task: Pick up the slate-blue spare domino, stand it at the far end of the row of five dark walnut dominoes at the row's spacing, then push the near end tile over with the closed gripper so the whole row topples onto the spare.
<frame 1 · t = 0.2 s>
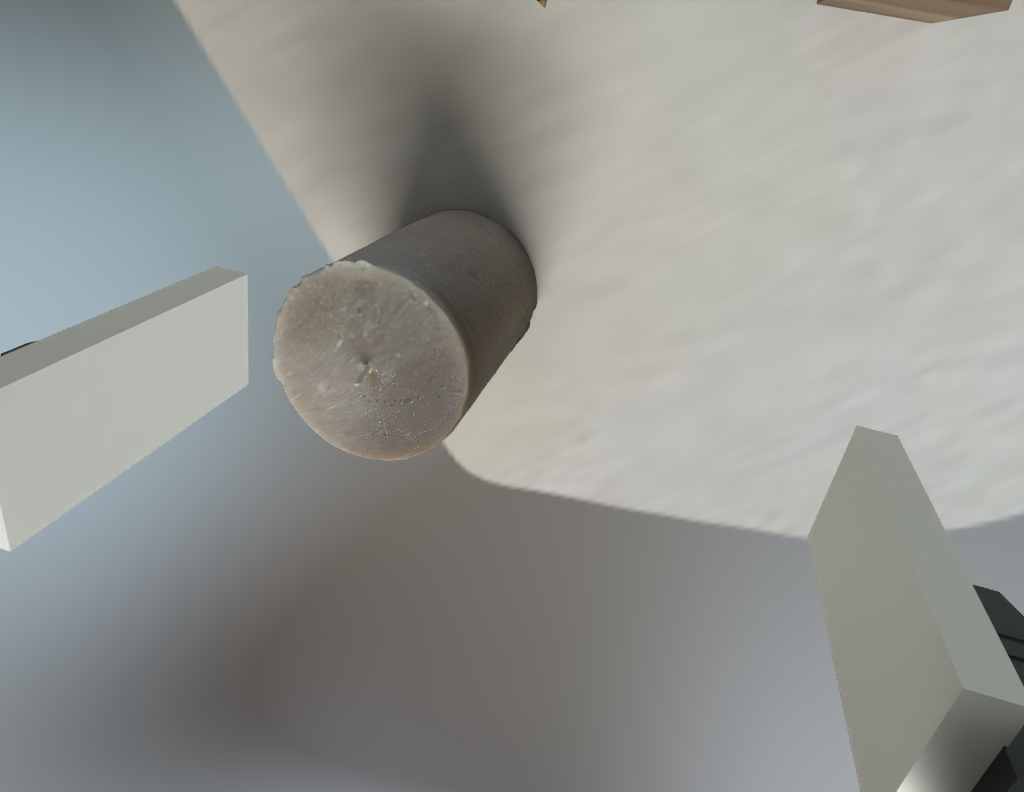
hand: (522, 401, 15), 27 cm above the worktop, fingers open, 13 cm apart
pillar candle: (461, 284, 44), on the worktop
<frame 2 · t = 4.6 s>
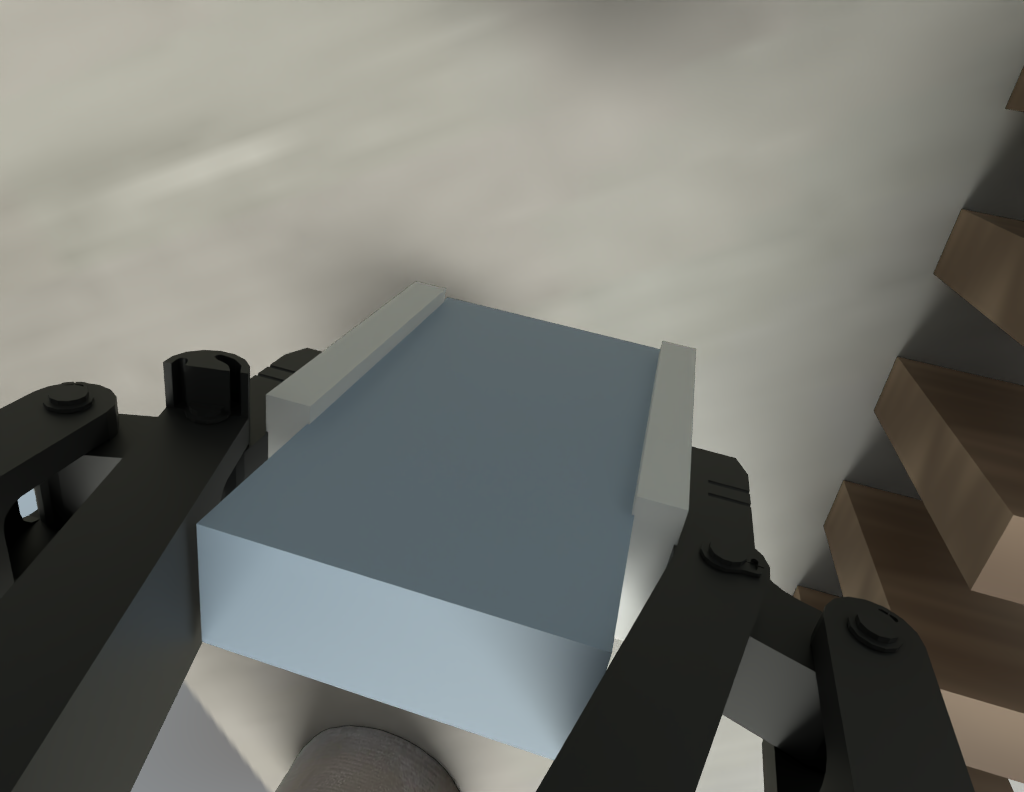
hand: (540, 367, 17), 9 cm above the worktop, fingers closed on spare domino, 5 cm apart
domino 5: (857, 624, 27), on the worktop
pillar candle: (379, 787, 38), on the worktop
spare domino: (544, 361, 17), point 8 cm above the worktop, touching gripper
domino 3: (967, 403, 23), on the worktop
domino 4: (908, 523, 25), on the worktop
when the fingers open (0 cm above the worktop, at t = 9.1 s): spare domino stays where it is, on the worktop.
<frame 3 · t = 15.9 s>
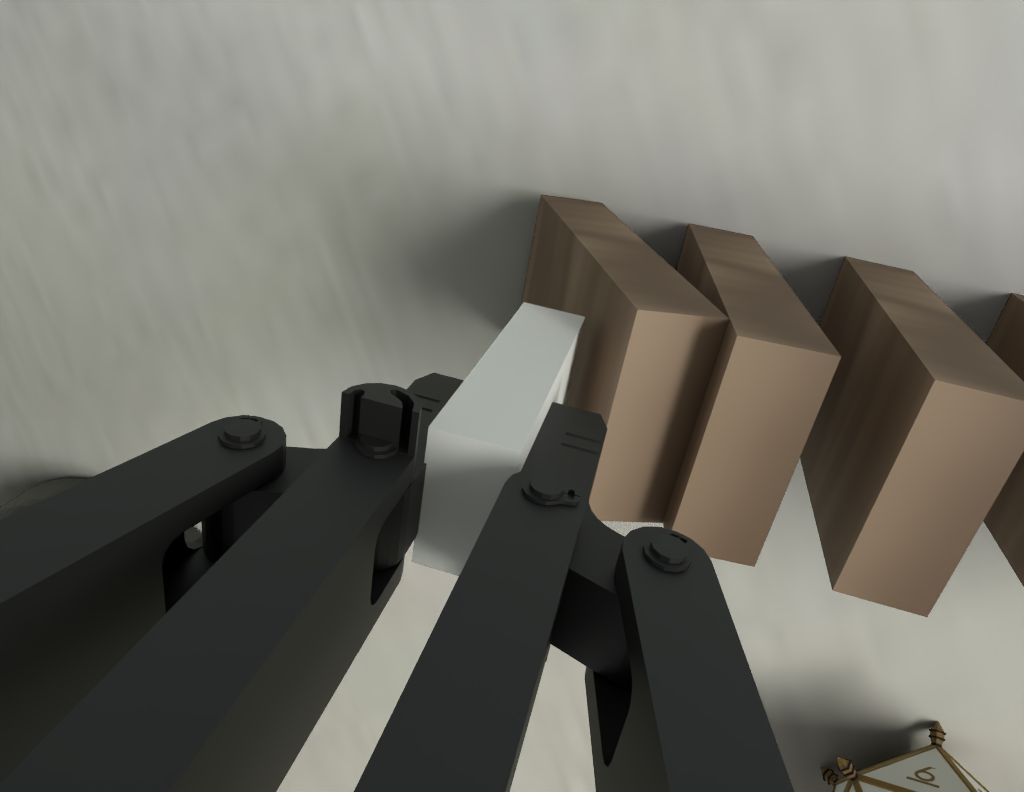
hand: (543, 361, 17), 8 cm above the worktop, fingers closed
domino 1: (555, 277, 24), on the worktop, tilted 23°
domino 2: (697, 308, 23), on the worktop, tilted 7°
domino 3: (846, 342, 23), on the worktop
game die: (898, 764, 30), on the worktop
domino 4: (1005, 379, 22), on the worktop
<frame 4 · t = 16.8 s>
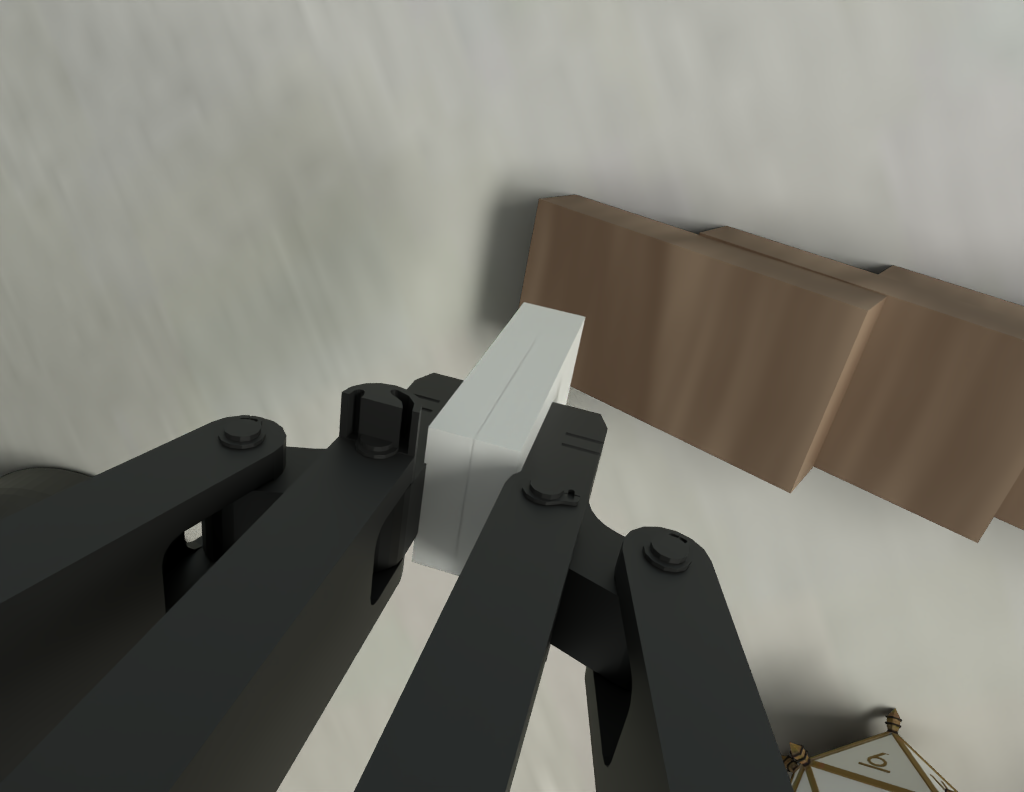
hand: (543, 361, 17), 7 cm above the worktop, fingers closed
domino 1: (542, 277, 23), point 1 cm above the worktop, tilted 66°, touching domino 2
domino 2: (688, 310, 23), point 1 cm above the worktop, tilted 66°, touching domino 1, domino 3
domino 3: (850, 350, 22), point 1 cm above the worktop, tilted 66°, touching domino 2, domino 4
game die: (858, 752, 30), on the worktop
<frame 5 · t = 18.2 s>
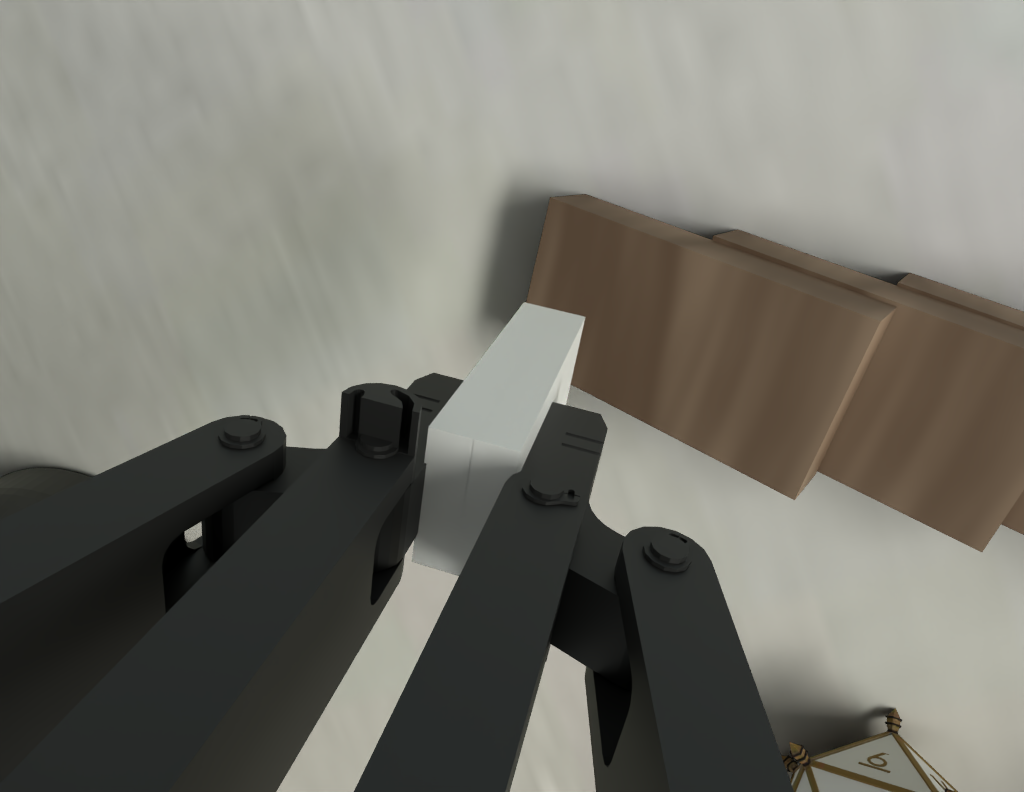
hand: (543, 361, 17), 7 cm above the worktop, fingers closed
domino 1: (549, 275, 23), point 1 cm above the worktop, tilted 67°, touching domino 2
domino 2: (697, 312, 22), point 1 cm above the worktop, tilted 67°, touching domino 1
domino 3: (864, 357, 22), point 1 cm above the worktop, tilted 67°, touching domino 4
game die: (858, 752, 30), on the worktop
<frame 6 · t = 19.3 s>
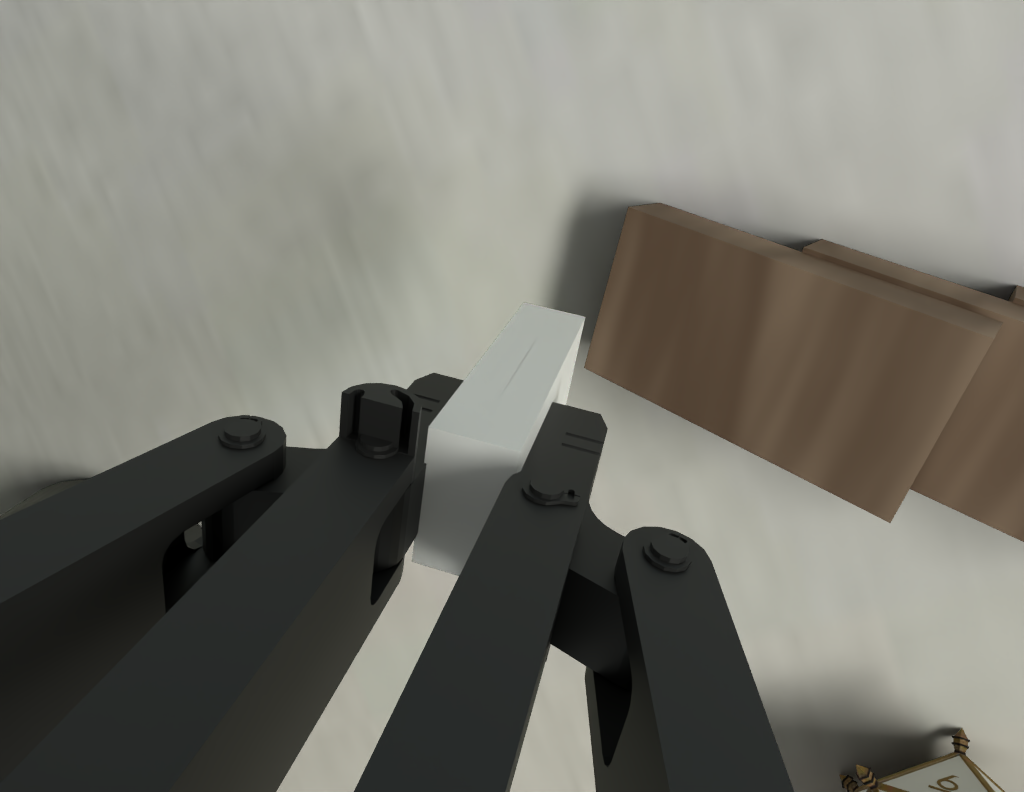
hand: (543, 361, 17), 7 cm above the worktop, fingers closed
domino 1: (621, 286, 22), point 1 cm above the worktop, tilted 66°, touching domino 2
domino 2: (779, 325, 22), point 1 cm above the worktop, tilted 68°, touching domino 1
game die: (920, 772, 29), on the worktop
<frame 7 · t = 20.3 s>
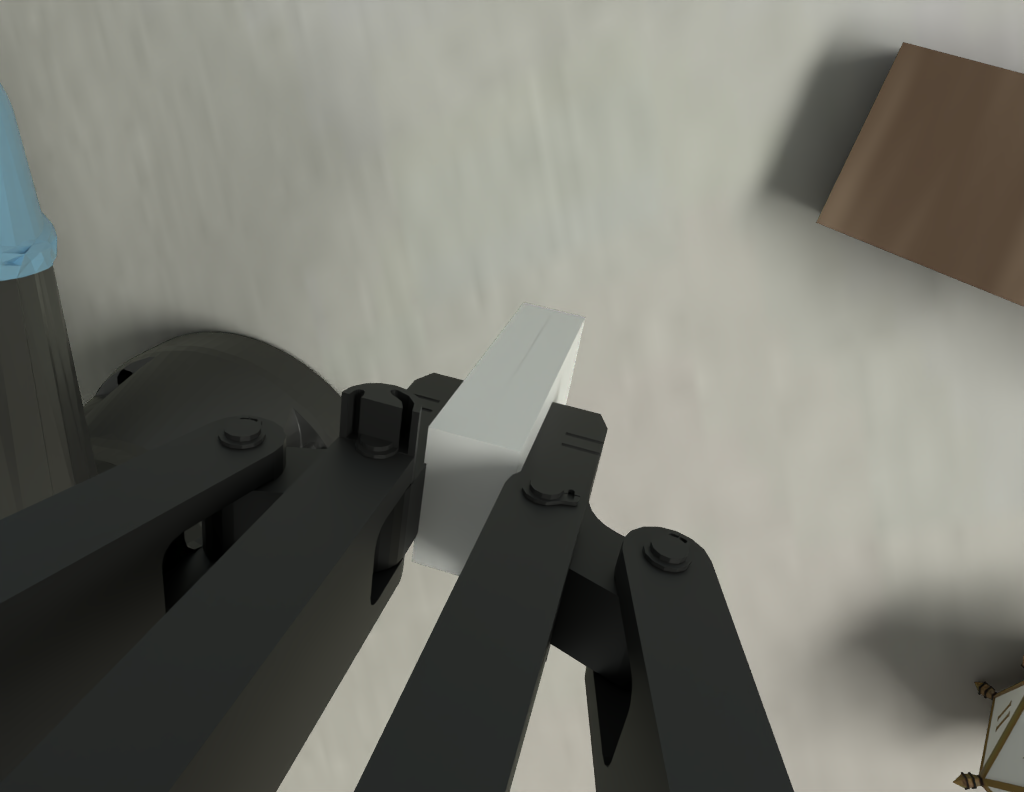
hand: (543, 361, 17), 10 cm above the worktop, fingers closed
domino 1: (866, 139, 22), point 1 cm above the worktop, tilted 66°, touching domino 2
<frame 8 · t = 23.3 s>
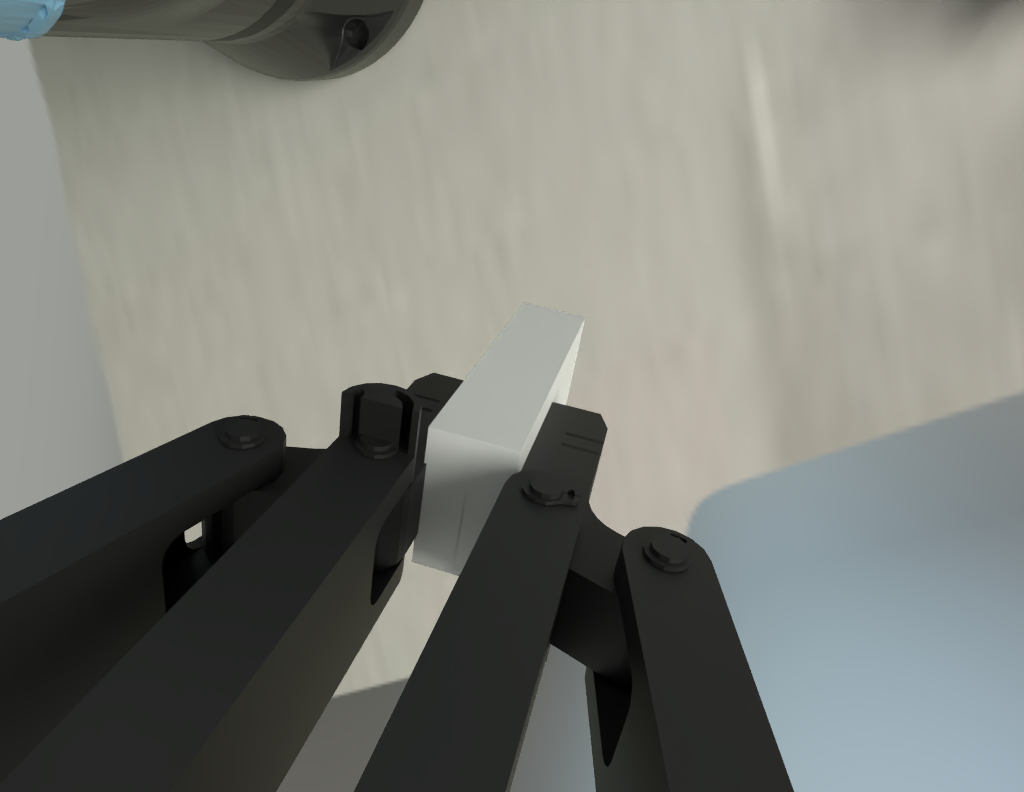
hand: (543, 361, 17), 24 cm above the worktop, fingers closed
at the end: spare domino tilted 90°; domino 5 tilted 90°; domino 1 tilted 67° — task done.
